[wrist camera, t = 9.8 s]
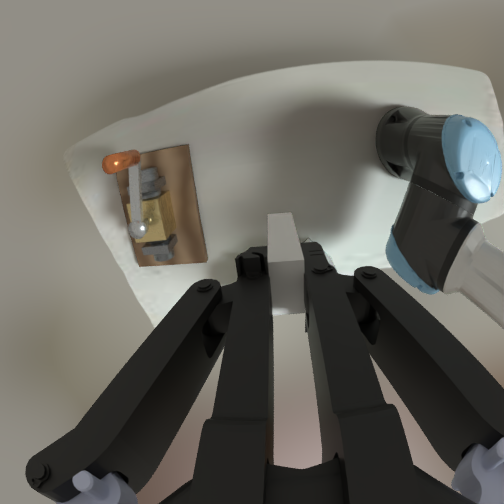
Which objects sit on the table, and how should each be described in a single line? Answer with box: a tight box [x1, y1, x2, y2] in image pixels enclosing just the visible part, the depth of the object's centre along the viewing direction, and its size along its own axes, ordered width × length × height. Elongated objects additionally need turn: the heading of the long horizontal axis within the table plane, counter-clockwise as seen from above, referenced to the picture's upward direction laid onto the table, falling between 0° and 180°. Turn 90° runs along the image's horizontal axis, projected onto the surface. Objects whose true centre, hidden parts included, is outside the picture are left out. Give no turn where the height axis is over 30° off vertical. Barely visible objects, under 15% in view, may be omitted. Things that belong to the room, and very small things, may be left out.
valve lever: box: [102, 150, 148, 239], centre depth 37 cm, size 15×3×8 cm, turn 176°
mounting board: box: [116, 144, 208, 267], centre depth 52 cm, size 16×24×2 cm, turn 6°
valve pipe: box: [126, 167, 178, 262], centre depth 48 cm, size 6×18×9 cm, turn 6°
